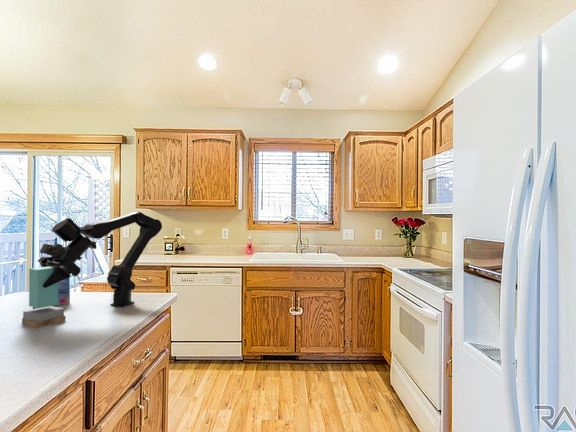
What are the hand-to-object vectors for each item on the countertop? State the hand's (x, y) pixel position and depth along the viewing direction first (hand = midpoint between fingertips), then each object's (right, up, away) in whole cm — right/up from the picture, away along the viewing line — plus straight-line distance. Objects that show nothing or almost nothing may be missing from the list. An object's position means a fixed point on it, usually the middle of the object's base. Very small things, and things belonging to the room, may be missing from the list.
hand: (39, 285), depth 112 cm
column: (+1, -7, +1) cm, 7 cm away
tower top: (+1, -11, +1) cm, 11 cm away
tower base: (+1, -13, +1) cm, 13 cm away
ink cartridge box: (-12, -13, +27) cm, 32 cm away
